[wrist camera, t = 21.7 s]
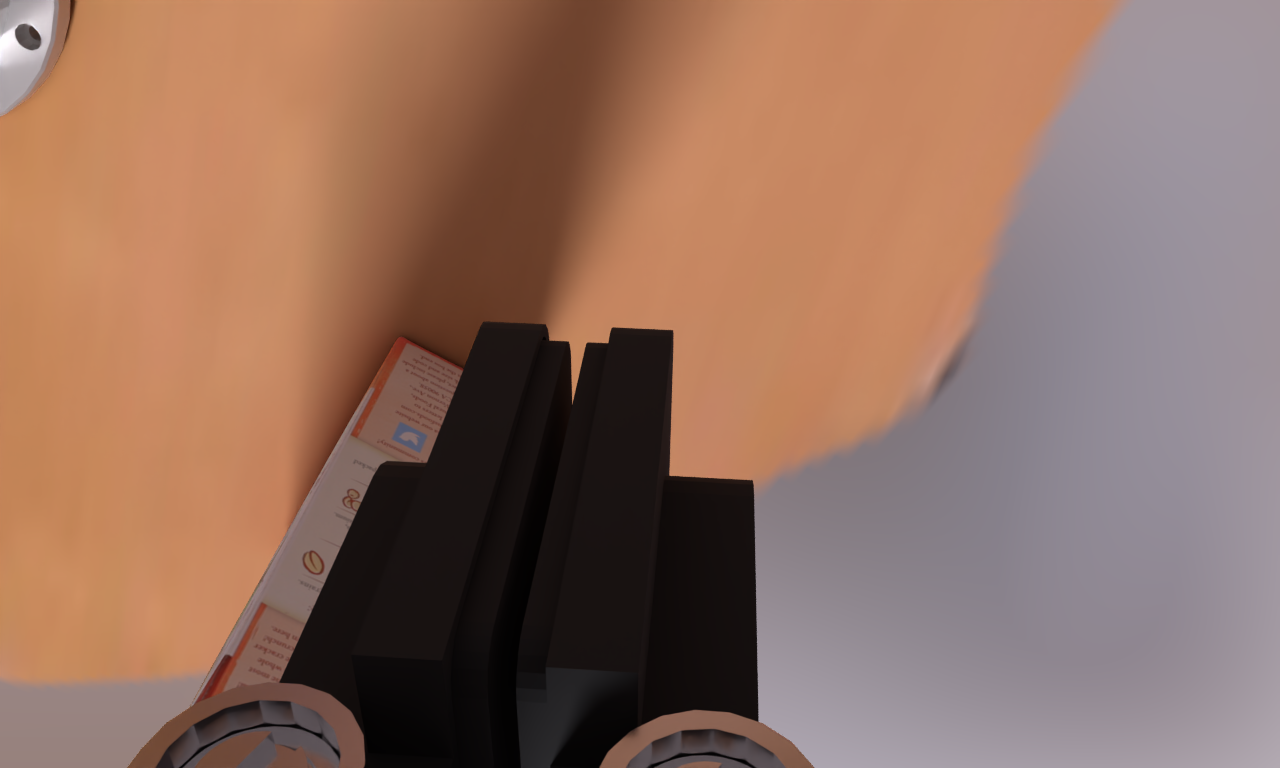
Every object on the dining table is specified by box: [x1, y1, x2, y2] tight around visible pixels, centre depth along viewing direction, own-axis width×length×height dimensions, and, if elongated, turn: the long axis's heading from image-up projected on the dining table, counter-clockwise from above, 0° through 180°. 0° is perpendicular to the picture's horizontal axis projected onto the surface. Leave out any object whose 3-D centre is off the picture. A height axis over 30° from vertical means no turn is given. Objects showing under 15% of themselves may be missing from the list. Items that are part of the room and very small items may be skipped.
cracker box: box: [189, 337, 464, 708], centre depth 39 cm, size 14×6×21 cm, turn 150°
